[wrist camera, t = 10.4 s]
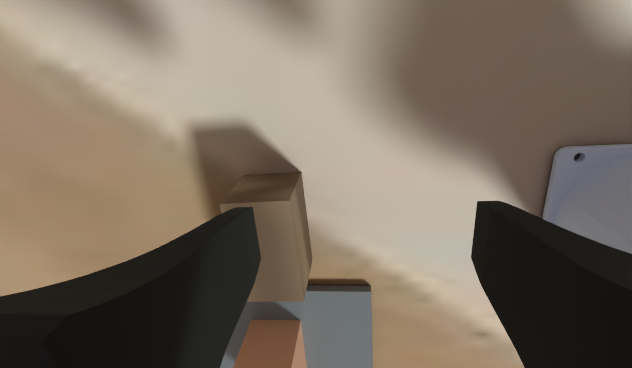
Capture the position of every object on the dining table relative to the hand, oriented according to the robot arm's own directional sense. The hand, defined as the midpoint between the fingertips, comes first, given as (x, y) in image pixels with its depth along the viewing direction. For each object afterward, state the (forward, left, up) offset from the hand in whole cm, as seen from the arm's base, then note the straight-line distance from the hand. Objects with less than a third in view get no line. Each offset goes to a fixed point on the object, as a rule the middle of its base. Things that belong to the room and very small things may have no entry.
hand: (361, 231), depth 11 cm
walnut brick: (+5, +4, -9) cm, 11 cm away
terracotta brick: (+6, +15, -8) cm, 18 cm away
